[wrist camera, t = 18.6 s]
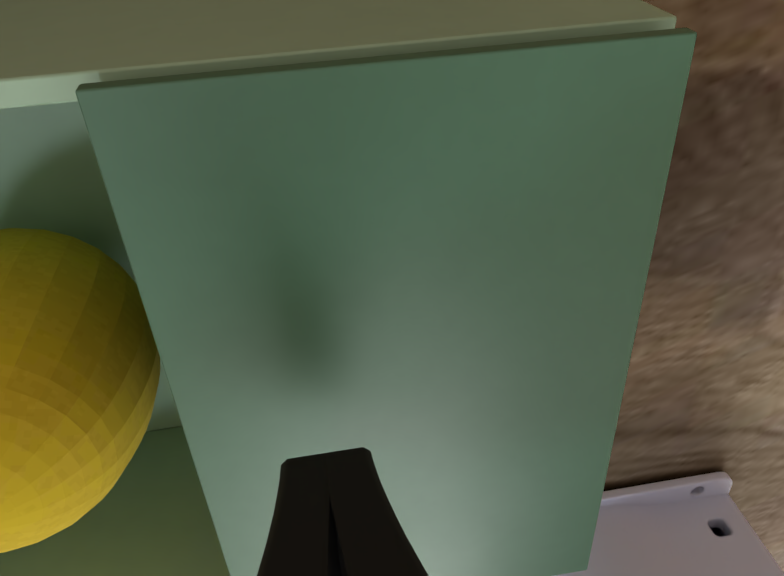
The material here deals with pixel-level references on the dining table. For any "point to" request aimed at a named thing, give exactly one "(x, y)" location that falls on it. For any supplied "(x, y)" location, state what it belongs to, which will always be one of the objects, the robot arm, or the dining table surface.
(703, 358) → the dining table surface
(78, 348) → the lemon
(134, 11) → the light green open box
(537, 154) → the flap
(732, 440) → the dining table surface
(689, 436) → the dining table surface
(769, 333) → the dining table surface
